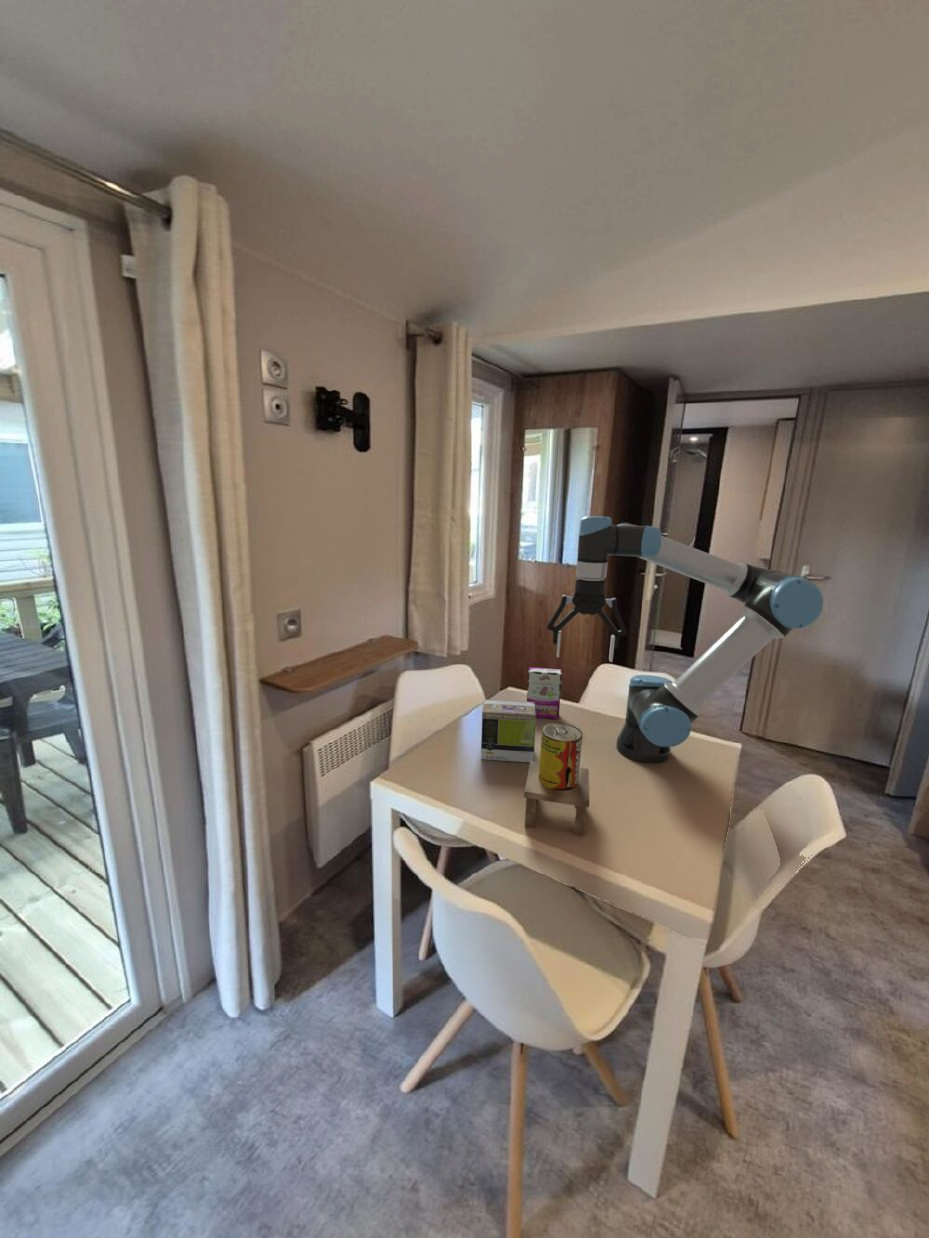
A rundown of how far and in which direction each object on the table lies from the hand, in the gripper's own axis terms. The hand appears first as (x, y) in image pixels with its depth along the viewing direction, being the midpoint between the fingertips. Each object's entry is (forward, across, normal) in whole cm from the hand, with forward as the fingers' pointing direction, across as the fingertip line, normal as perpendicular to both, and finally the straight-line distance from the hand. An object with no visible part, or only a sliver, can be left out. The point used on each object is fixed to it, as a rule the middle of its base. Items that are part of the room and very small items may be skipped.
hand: (584, 658), depth 134 cm
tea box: (+32, +19, -3) cm, 37 cm away
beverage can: (+23, +5, +24) cm, 33 cm away
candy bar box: (+32, +11, -32) cm, 47 cm away
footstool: (+31, +5, +24) cm, 40 cm away
